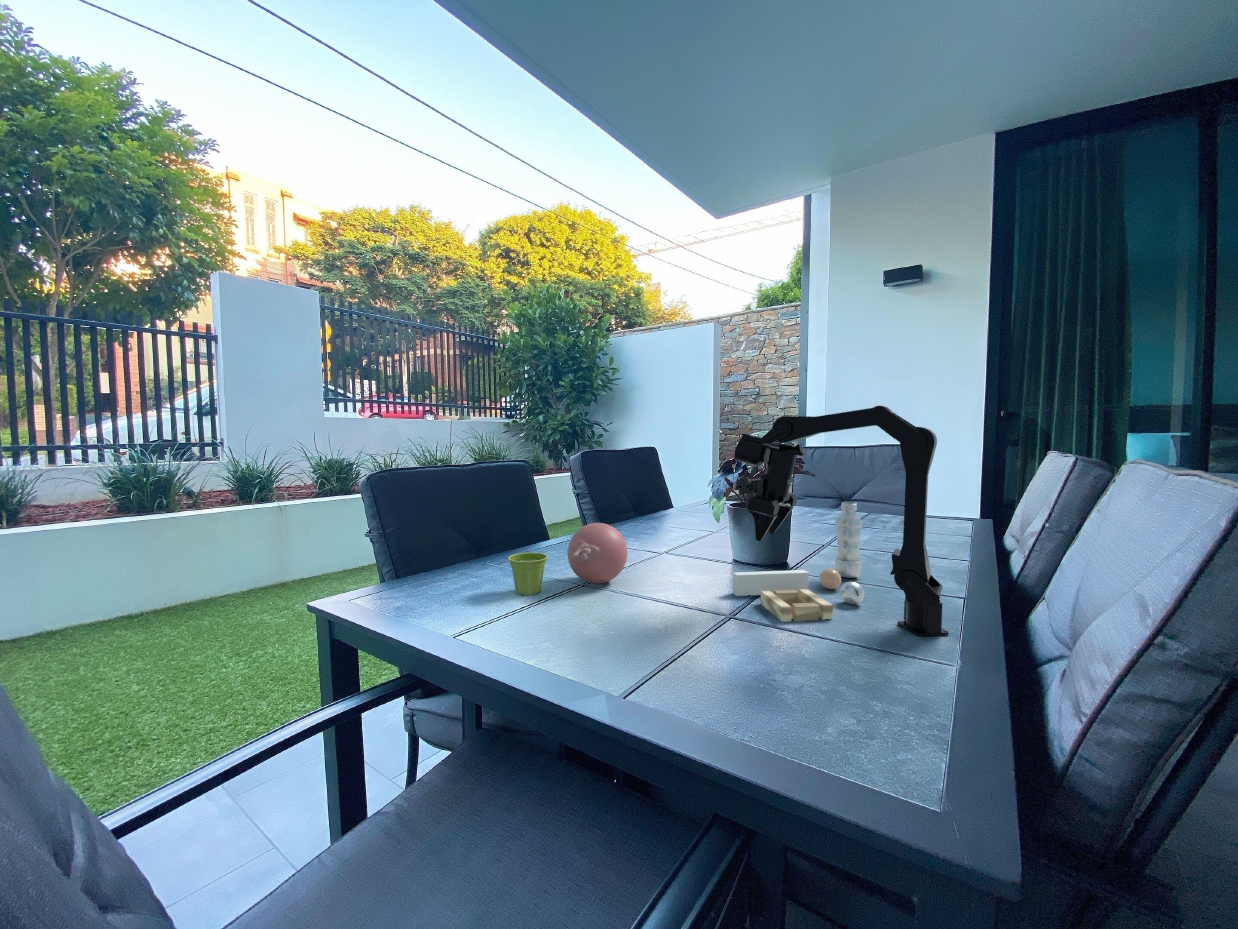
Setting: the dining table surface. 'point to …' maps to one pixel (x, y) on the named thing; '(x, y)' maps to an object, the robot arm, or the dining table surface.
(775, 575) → the stop block
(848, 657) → the dining table surface
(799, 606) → the beech collar
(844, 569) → the plastic bottle
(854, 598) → the steel ball
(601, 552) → the pink ball
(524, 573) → the plant pot
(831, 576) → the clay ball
